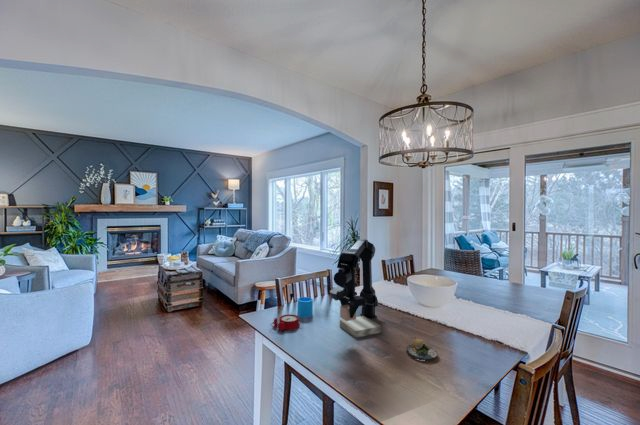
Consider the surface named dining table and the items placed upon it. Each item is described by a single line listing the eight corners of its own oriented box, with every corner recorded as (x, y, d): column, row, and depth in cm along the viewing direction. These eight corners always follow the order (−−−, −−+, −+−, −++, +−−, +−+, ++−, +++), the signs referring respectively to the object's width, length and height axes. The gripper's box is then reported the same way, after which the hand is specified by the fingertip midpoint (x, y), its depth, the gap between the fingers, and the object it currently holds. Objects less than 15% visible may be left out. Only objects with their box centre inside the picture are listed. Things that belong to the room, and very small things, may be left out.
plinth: (363, 321, 148) (363, 315, 148) (380, 332, 136) (380, 326, 136) (339, 326, 142) (339, 320, 142) (355, 337, 129) (355, 331, 129)
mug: (314, 316, 154) (315, 300, 154) (300, 318, 151) (300, 302, 151) (307, 308, 165) (307, 294, 165) (293, 310, 162) (293, 295, 162)
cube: (349, 315, 131) (349, 304, 130) (355, 319, 126) (356, 307, 126) (340, 317, 128) (340, 305, 128) (346, 321, 124) (346, 309, 124)
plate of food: (434, 366, 108) (434, 346, 108) (402, 357, 114) (403, 338, 114) (440, 352, 118) (440, 334, 118) (410, 345, 124) (411, 327, 124)
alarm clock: (306, 319, 140) (279, 318, 132) (303, 332, 140) (276, 332, 131) (294, 312, 149) (269, 311, 140) (292, 325, 148) (266, 325, 139)
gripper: (322, 277, 131) (321, 311, 132) (344, 288, 115) (343, 327, 115) (343, 274, 136) (342, 307, 137) (367, 285, 120) (366, 322, 120)
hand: (348, 315), depth 127 cm, fingers closed on cube, 5 cm apart
